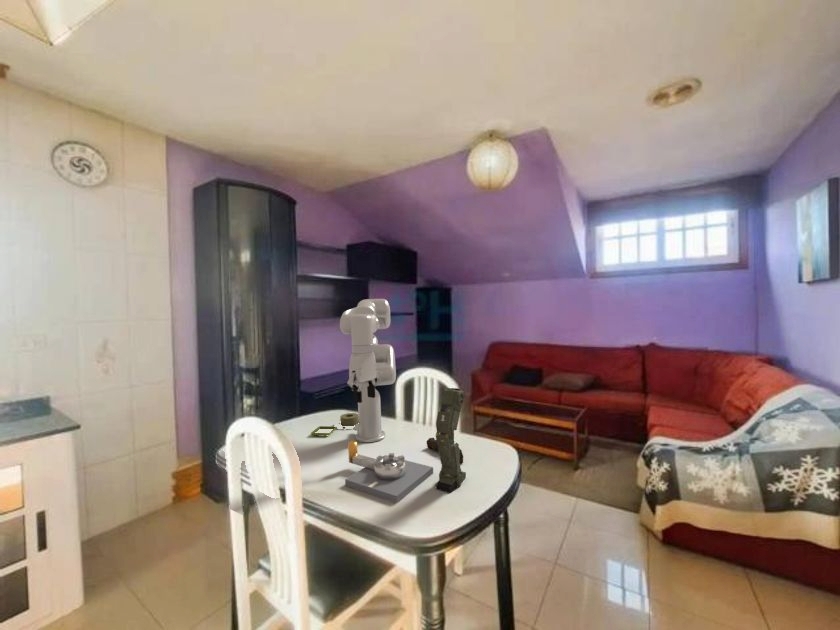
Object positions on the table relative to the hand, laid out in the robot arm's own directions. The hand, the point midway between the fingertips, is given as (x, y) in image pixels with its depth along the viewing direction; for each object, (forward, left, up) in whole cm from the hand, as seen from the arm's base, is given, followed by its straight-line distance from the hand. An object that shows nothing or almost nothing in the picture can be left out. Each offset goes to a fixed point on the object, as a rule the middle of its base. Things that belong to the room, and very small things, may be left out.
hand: (364, 399), depth 124 cm
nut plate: (+15, -6, -23) cm, 28 cm away
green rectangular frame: (-37, +13, -23) cm, 46 cm away
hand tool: (+22, +19, -23) cm, 37 cm away
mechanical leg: (+33, +2, -23) cm, 40 cm away
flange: (-35, +27, -23) cm, 50 cm away
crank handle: (+9, -6, -20) cm, 23 cm away
